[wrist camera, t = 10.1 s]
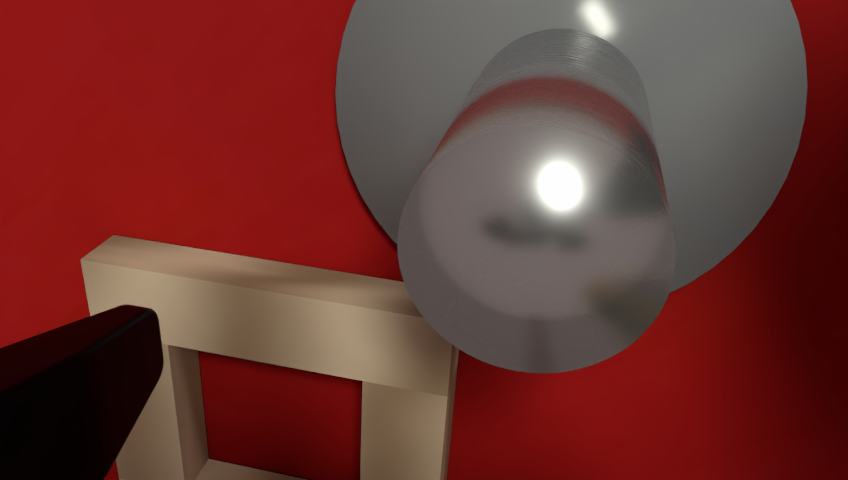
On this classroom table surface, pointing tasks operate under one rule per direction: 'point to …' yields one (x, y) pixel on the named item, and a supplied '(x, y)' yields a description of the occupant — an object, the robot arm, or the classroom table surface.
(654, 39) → the saucer
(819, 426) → the classroom table surface
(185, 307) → the holder
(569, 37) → the shiny steel cylinder
